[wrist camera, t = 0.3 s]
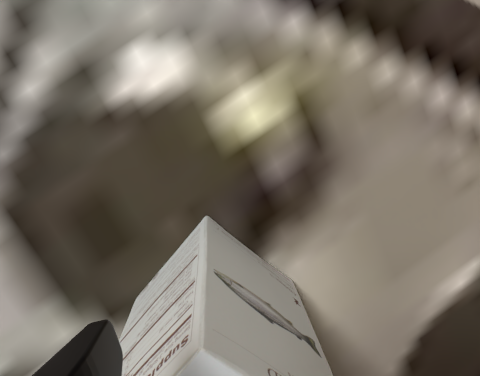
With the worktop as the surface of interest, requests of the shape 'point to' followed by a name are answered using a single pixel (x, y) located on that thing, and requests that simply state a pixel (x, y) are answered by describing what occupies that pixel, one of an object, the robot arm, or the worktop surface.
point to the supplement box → (219, 316)
